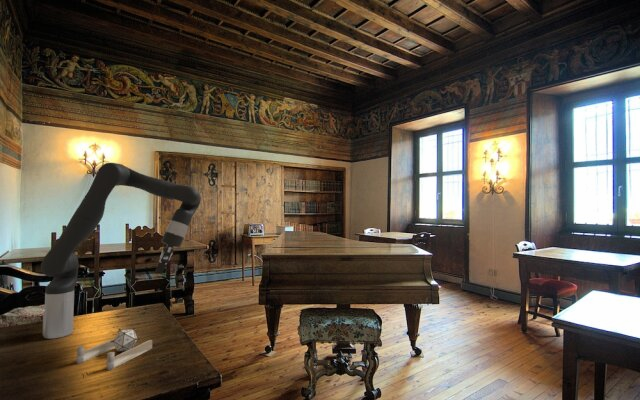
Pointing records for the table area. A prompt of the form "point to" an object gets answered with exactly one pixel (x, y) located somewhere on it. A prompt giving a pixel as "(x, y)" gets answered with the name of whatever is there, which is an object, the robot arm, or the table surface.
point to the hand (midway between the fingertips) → (158, 273)
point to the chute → (112, 353)
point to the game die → (125, 340)
